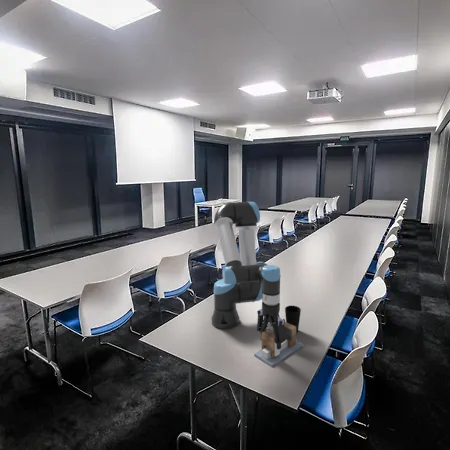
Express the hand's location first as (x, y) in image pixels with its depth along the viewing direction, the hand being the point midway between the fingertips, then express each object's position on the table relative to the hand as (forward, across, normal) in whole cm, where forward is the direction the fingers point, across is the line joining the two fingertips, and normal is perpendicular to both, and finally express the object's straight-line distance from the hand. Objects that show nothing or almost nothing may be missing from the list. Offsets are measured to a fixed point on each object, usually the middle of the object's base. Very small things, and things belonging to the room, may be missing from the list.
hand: (270, 350), depth 128 cm
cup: (+3, -6, +24) cm, 25 cm away
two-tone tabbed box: (+1, 0, 0) cm, 1 cm away
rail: (+3, 0, +6) cm, 7 cm away
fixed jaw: (+2, 0, +12) cm, 12 cm away
